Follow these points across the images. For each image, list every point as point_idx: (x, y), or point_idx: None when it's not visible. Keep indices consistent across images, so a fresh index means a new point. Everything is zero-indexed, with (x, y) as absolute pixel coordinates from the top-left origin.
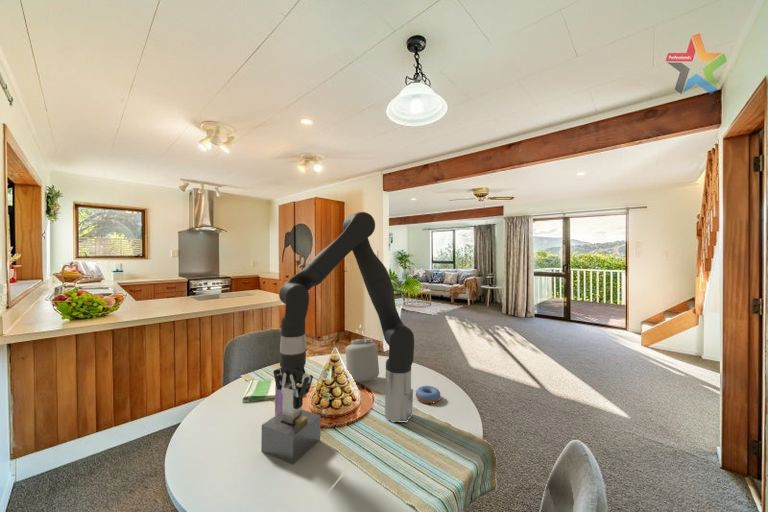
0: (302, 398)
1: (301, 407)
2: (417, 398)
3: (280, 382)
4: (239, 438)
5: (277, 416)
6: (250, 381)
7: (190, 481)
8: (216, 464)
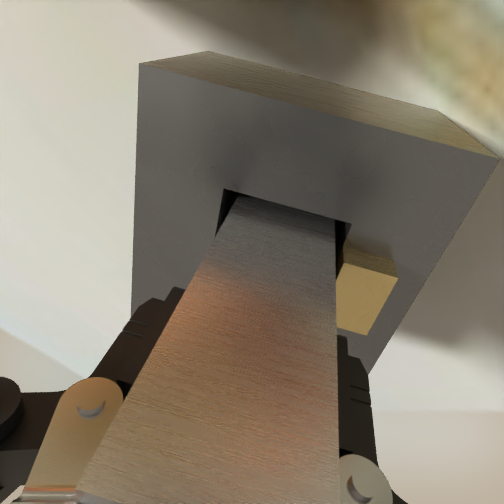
0: (371, 432)
1: (333, 290)
2: None
3: None
4: (30, 179)
5: (149, 237)
6: None
7: (95, 361)
8: (94, 309)
